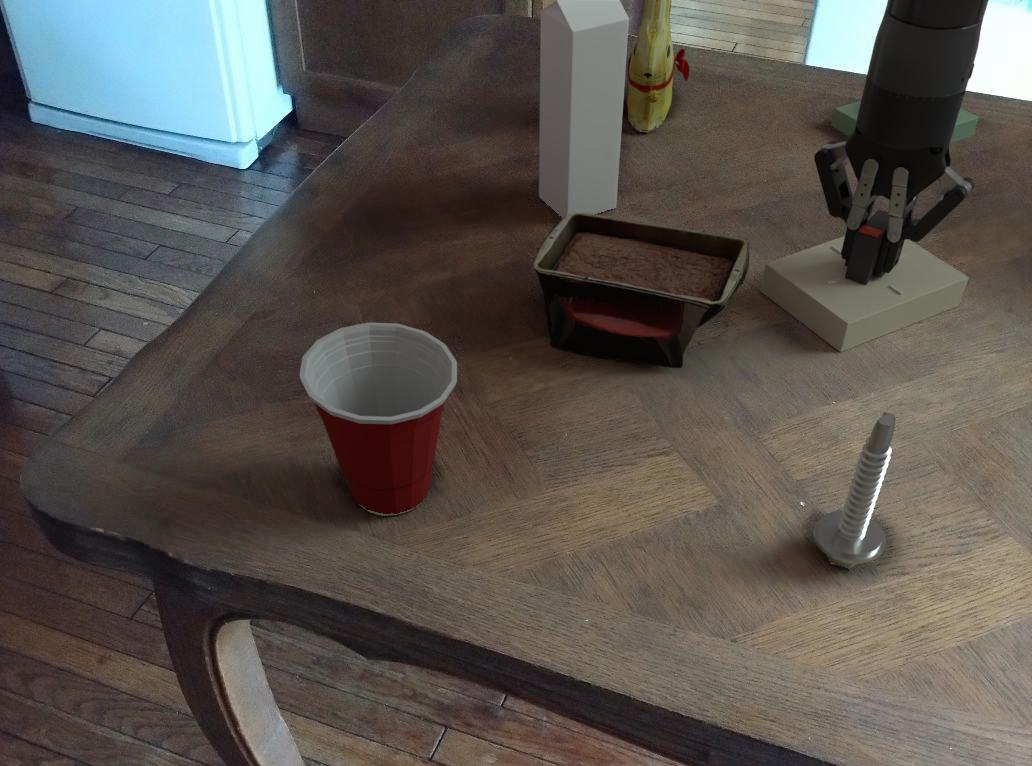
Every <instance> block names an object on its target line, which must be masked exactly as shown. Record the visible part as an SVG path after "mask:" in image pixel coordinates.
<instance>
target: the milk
mask: <svg viewBox="0 0 1032 766" xmlns="http://www.w3.org/2000/svg"><path fill="white" fill-rule="evenodd" d="M629 22H630V17H629V16H628V14H627V12H626V10H625V8H624V6H623V4H622V3H621V0H555V1H553V2H551V3H550V4H548V5H547V6H544V7H543V8H541V9H540V39H539V40H540V41H539V42H540V45H539V46H540V50H539V57H540V58H539V145H538V146H539V150H538V151H539V152H538V153H539V154H538V155H539V156H538V157H539V159H538V162H539V163H538V166H539V167H538V198H539V197H540V198H541V199H542V200H543V201H544V202H545V203H546V204H547V205H546V204H545V203H544V202H543V201H542V200H541V199H540V198H539V199H540V200H541V201H542V202H543V203H544V204H545V205H546V206H547V207H549V206H550V207H551V208H552V209H553V210H554V211H555V212H556V213H557V214H559V215H558V217H560V216H561V217H562V218H564V217H566V216H568V215H569V214H573V213H589V214H596V215H599V214H602V213H601V212H603V213H606V212H608V211H607V210H610V211H612V210H611V209H613V210H615V209H614V208H616V209H617V204H618V203H617V201H618V187H619V186H618V185H619V173H620V171H619V170H620V159H621V158H620V156H621V144H622V142H621V141H622V127H623V126H622V125H623V112H624V99H625V98H624V97H625V85H626V68H627V67H626V66H627V52H628V38H629V24H630V23H629ZM550 207H549V208H550ZM551 208H550V209H551ZM552 209H551V210H552ZM553 210H552V211H553ZM554 211H553V212H554ZM605 211H606V212H605ZM555 212H554V213H555ZM556 213H555V214H556ZM598 213H599V214H598ZM557 214H556V215H557ZM561 217H560V218H561ZM562 218H561V219H562Z"/></svg>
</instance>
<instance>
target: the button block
mask: <svg viewBox="0 0 1032 766" xmlns="http://www.w3.org/2000/svg"><path fill="white" fill-rule="evenodd" d="M860 104H861V100H858V101H854V102H851V103H848V104H845V105H841V106H837V107H835V108H834V110H833V114H832V118H831V123H830V127H831V126H833V127H834V128H836V129H838V130H839V131H841V132H843V133H844V134H846V135H848V136H850V135H851V134H852V133H853V131H854V130H855V127H856V121H857V117H858V112H859V108H860ZM979 119H980V117H979V116H978V115H976V114H973V113H971V112H970V111H967V110H965V109H963V108H961V107H960V111H959V114H958V117H957V121H956V124H955V128H954V131H953V134H952V138H951V141H950V144H953V143H957V142H959V141H962V140H965V139H968V138H971V137H974V134H975V132H976V128H977V125H978V122H979ZM834 128H833V129H834ZM836 129H835V130H836ZM839 131H838V132H839ZM841 132H840V133H841ZM843 133H842V134H843ZM844 134H843V135H844ZM846 135H845V136H846ZM848 136H847V137H848Z"/></svg>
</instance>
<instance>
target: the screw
mask: <svg viewBox="0 0 1032 766" xmlns="http://www.w3.org/2000/svg"><path fill="white" fill-rule="evenodd" d="M896 419H897V418H896V415H895V414H894V413H891V412H886V411H884V412H882V416H880V417H879V418H878V420H877V421H876V422H875V423H874V425H873V427H872V429H871V431H870V432H871V433H870V436H868V437H866V439H865V444H863V445H862V448H861V449H862V451H861V452H860V453H859V458H858V460H857V465H856V466H855V471H854V473H853V478H852V479H851V484H850V486H849V491H847V497H846V498H845V503H844V505H843V510H836V511H831V512H828V513H825V514H823V515H822V516H821V517H820V518H818V520H817V521H815V525H814V526H813V527H814V528H813V535H812V537H813V540H814V543H815V544H816V546H817V547H818V548H819V549H820V550H821V552H822V553H824V554H825V555H826V554H827V555H826V558H827V557H828V558H827V560H828V559H829V560H828V562H829V561H830V563H834V564H836V565H838V566H837V567H840V566H841V567H840V568H843V567H845V568H844V569H846V568H848V569H847V570H851V569H853V568H855V567H856V566H858V565H861V564H868V563H871V562H873V561H874V560H876V559H879V558H880V556H881V555H882V554H883V552H884V550H885V547H886V545H887V538H886V534H885V532H884V530H883V529H882V527H881V526H880V524H878V523H877V522H876V521H875V520H873V518H872V513H873V511H874V508H875V505H876V502H877V499H878V495H879V494H880V490H881V487H882V485H883V481H884V478H885V475H886V473H887V468H888V466H889V462H890V460H891V458H892V451H893V446H892V444H891V443H892V440H893V436H894V433H895V427H896ZM830 563H829V564H830ZM857 564H858V565H857ZM836 565H835V566H836ZM855 565H856V566H855ZM850 568H851V569H850Z"/></svg>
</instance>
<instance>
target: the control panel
mask: <svg viewBox="0 0 1032 766" xmlns="http://www.w3.org/2000/svg"><path fill="white" fill-rule="evenodd" d="M844 238H845V235H844V236H840V237H837V238H835V239H831V240H829V241H825V242H823V243H821V244H817V245H815V246H811V247H809V248H806V249H802V250H800V251H797V252H795V253H791V254H789V255H785V256H782V257H780V258H777V259H774V260H771V261H769V262H766V263H765V264H764V269H763V275H762V278H761V279H762V280H761V284H760V285H761V286H760V293H762V294H763V295H764V296H766V297H767V298H768V299H769V300H771V301H773V302H774V303H775V304H776V305H777V306H779V307H780V308H781V309H782V310H784V311H785V312H787V313H788V314H789V315H790V316H792V317H793V318H795V319H796V320H797V321H799V322H800V323H801V324H802V325H804V326H805V327H806V328H807V329H809V330H811V331H812V332H813V333H814V334H816V335H817V336H818V337H820V338H821V339H822V340H824V341H825V342H826V343H828V344H829V345H830V346H831V347H833V348H834V349H835V350H836V351H838V352H839V353H842V352H844V351H845V352H846V351H847V350H850V349H852V348H856V347H858V346H860V345H863V344H865V343H867V342H870V341H872V340H876V339H878V338H880V337H884V336H886V335H888V334H891V333H893V332H896V331H898V330H901V329H904V328H906V327H909V326H911V325H915V324H916V323H918V322H921V321H925V320H927V319H929V318H931V317H934V316H937V315H939V314H942V313H944V312H946V311H947V312H948V311H949V310H952V309H954V308H958V307H959V306H960V304H961V301H962V299H963V296H964V293H965V290H966V287H967V285H968V281H969V280H970V279H969V276H967V275H966V274H965V273H962V272H961V271H959V270H958V269H956V268H955V267H953V266H951V265H949V264H948V263H947V262H945V261H943V260H942V259H940V258H938V257H937V256H935V255H934V254H932V253H931V252H929V251H928V250H926V249H924V248H923V247H921V246H919V245H918V244H916V242H913V241H911V240H910V239H906V240H905V241H904V244H903V248H902V251H901V255H900V258H899V262H898V263H897V264H896V266H895V267H894V268H893V269H892V270H891V271H890V272H889V273H885V274H884V275H883V277H882V278H880V277H877V276H874V277H873V278H872V279H871V280H870V281H869V282H868V283H867V284H866V285H864V284H861V283H858V282H855V281H852V280H849V279H846V278H845V275H846V271H847V267H846V266H845V261H846V260H845V259H842V256H841V250H842V247H843V243H844Z"/></svg>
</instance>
